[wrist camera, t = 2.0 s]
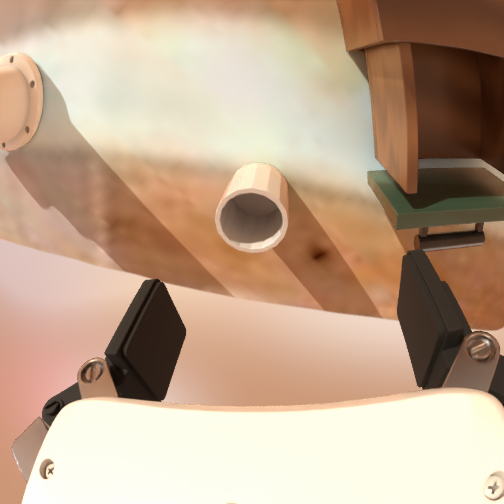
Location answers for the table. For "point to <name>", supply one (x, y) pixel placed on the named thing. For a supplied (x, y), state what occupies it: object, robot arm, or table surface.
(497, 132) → the drawer
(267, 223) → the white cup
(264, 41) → the table surface
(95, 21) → the table surface
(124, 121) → the table surface
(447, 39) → the cabinet
